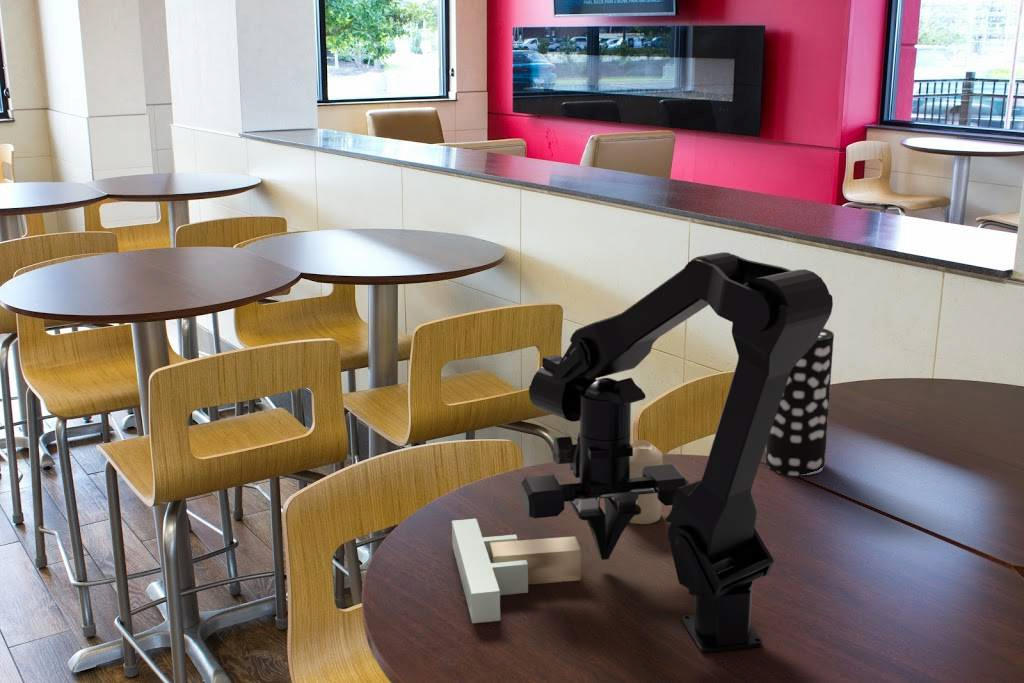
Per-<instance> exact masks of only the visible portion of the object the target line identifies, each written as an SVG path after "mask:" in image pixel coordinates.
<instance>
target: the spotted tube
mask: <svg viewBox="0 0 1024 683" xmlns="http://www.w3.org/2000/svg"><path fill="white" fill-rule="evenodd" d="M834 338H835V334H834V332H833V331H831V330H829V329H827V328H825V327H824V328H823V330H822V332H821V333H820V335H819V337H818V339H817V341H816V342H815V343H814V345H813V346H812V347H811V348H810V349H809V350H808V351H807V352H806V354H805V355H804V356H803V357H802V358H801V359H800V360H799V361H798V362H797V364H796V365H795V366H794V367H793V368H792V370H791V372H790V375H789V378H788V381H787V384H786V387H785V390H784V393H783V396H782V399H781V402H780V405H779V408H778V411H777V414H776V417H775V420H774V423H773V426H772V428H771V431H770V434H769V437H768V440H767V443H766V446H765V458H766V464H765V465H766V467H767V468H768V469H770V470H771V471H772V472H776V473H779V474H782V475H787V476H792V477H799V476H798V475H801V474H802V475H803V474H807V473H810V472H814V471H817V470H819V469H820V468H822V467H823V466H824V467H825V465H824V463H825V462H826V451H827V450H826V449H827V448H826V447H827V435H828V423H829V420H828V419H829V411H830V410H829V407H830V395H831V394H830V393H831V381H832V380H831V378H832V366H833V365H832V364H833V352H834V351H833V350H834Z"/></svg>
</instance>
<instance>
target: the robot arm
mask: <svg viewBox="0 0 1024 683" xmlns="http://www.w3.org/2000/svg"><path fill="white" fill-rule="evenodd" d="M833 299H834V298H833V296H832V294H831V293H830V292H829V289H828V286H827V284H826V283H825V282H824V280H823V278H822V277H821V276H819V275H818V274H817V273H815V272H814V271H813V270H812V271H811V270H808V269H805V268H804V269H793V270H791V269H790V268H789V269H788V268H785V267H783V266H778V265H774V264H769V263H763V262H759V261H754V260H749V259H746V258H743V257H741V256H739V255H737V254H732V253H731V252H726V251H724V252H723V251H722V252H718V253H717V252H716V253H711V254H705V255H699V256H696V257H694V258H691V260H690V261H688V263H686V265H684V268H682V269H681V270H680V271H678V272H677V273H675V274H674V275H672V276H671V277H670V278H669V279H667V280H666V281H665V282H662V283H661V284H660V285H659V286H658V287H656V288H654V289H653V290H652V291H650V292H649V293H647V294H646V295H645V296H644V297H642V298H641V299H639V300H638V301H636V302H635V303H633V304H632V305H630V307H628V308H627V309H625V310H624V311H622V312H621V313H619V314H616V315H613V316H609V317H607V318H604V319H601V320H598V321H594V322H593V323H589V324H587V325H585V326H582V327H580V328H578V329H575V331H574V332H573V333H572V335H571V337H570V339H569V342H570V345H569V346H568V348H567V349H566V351H565V352H564V355H563V356H560V355H557V354H552V355H548V356H544V357H542V358H541V360H542V361H541V362H542V364H541V365H542V366H541V367H540V368H539V369H538V370H537V371H536V373H535V374H534V375H533V378H532V380H531V383H530V385H529V387H528V396H529V400H530V402H531V403H532V405H533V407H535V408H536V409H539V410H540V411H542V412H543V411H544V412H546V413H548V414H551V415H554V416H555V417H559V418H561V419H564V420H566V421H569V422H579V432H578V434H577V441H576V442H577V443H576V442H575V443H573V440H572V436H561V437H560V436H558V437H553V455H554V456H553V458H554V463H555V464H556V465H563V464H564V465H565V464H569V470H570V471H573V472H572V474H573V476H574V478H576V479H577V478H578V479H579V482H576V483H565V484H560V483H559V481H558V479H557V478H556V475H554V474H544V475H536V476H535V475H534V476H525V477H524V478H523V480H522V481H521V482H520V486H519V497H520V501H521V502H522V504H523V507H524V509H525V511H526V514H527V516H528V517H529V518H532V519H543V518H553V517H558V516H559V515H560V514H561V513H562V512H564V510H565V502H568V503H569V505H571V508H572V510H573V511H574V512H575V514H576V516H577V517H578V518H577V519H579V520H582V521H586V522H587V523H588V526H589V530H590V532H591V535H592V538H593V541H594V544H595V547H596V549H597V553H598V555H599V557H600V559H601V561H607V560H609V559H610V557H611V555H612V553H613V552H614V550H615V548H616V545H617V544H618V542H619V539H620V538H621V536H622V534H623V532H624V531H625V529H626V528H627V526H628V525H629V524H630V523H629V522H630V520H631V519H632V518H633V516H634V515H639V514H641V508H640V506H639V505H638V504H637V499H638V495H640V494H651V493H657V498H658V500H659V501H660V502H662V504H663V505H664V506H665V507H667V506H671V510H670V512H669V514H668V516H666V517H665V522H666V523H669V524H668V525H669V526H668V530H667V539H668V542H669V546H670V551H671V554H672V558H673V563H674V567H675V571H676V576H677V581H678V583H679V585H681V586H683V587H684V588H686V589H687V590H688V594H689V595H691V596H693V597H694V602H693V603H694V606H693V614H692V613H691V614H685V615H683V616H682V618H681V621H682V623H683V625H684V626H685V628H686V630H687V631H688V632H689V635H690V636H691V637H692V639H693V640H694V642H695V644H696V645H697V647H698V649H699V650H700V651H701V652H703V653H713V652H721V651H728V650H739V649H745V648H747V649H748V648H757V647H758V648H759V647H761V646H763V639H762V638H761V636H760V635H759V633H758V632H757V631H756V629H755V628H754V627H753V625H752V624H751V617H752V616H751V615H752V599H753V598H752V597H753V581H756V580H758V579H760V578H761V577H766V576H768V575H769V574H770V572H771V569H772V567H773V565H774V562H775V561H774V560H775V559H774V558H773V556H772V555H771V553H770V551H769V549H768V547H767V546H766V545H765V543H764V541H763V539H762V538H761V536H760V534H759V533H758V531H757V529H756V521H757V515H758V513H757V512H758V511H757V508H756V504H755V501H754V499H753V495H752V487H753V485H754V482H755V479H756V476H757V472H758V470H759V466H760V464H761V461H762V458H763V455H764V452H765V450H766V443H767V440H768V437H769V434H770V431H771V428H772V426H773V423H774V420H775V417H776V414H777V411H778V408H779V405H780V402H781V399H782V396H783V393H784V390H785V387H786V384H787V381H788V378H789V375H790V372H791V370H792V368H793V367H794V366H795V365H796V364H797V362H798V361H799V360H800V359H801V358H802V357H803V356H804V355H805V354H806V352H807V351H808V350H809V349H810V348H811V347H812V346H813V345H814V343H815V342H816V341H817V339H818V337H819V335H820V333H821V332H822V330H823V328H824V329H825V326H826V324H827V322H828V321H829V319H830V316H831V314H832V312H833V311H832V310H833V306H834V304H833V302H834V301H833ZM708 306H710V308H711V309H712V310H713V311H714V313H715V314H716V316H718V317H720V318H722V319H725V320H727V321H728V322H731V323H732V325H731V335H732V339H733V342H734V345H735V349H736V352H737V356H738V357H737V363H736V366H735V369H734V373H733V376H732V379H731V382H730V386H729V389H728V393H727V396H726V399H725V401H724V405H723V409H722V412H721V415H720V418H719V421H718V425H717V428H716V431H715V435H714V438H713V441H712V444H711V448H710V451H709V454H708V458H707V461H706V465H705V466H704V467H705V468H704V471H703V474H702V477H701V479H699V480H697V481H694V482H692V483H690V482H689V480H687V478H686V477H685V476H684V474H682V473H681V472H680V470H678V468H677V467H676V466H674V464H672V463H670V464H668V463H667V464H663V465H656V466H645V467H644V469H643V470H642V477H639V478H630V456H633V447H632V446H631V445H630V444H631V429H632V428H631V427H632V426H631V425H632V424H631V423H632V422H631V420H632V419H631V418H632V417H631V416H632V403H633V404H634V403H636V402H640V401H643V400H645V399H646V397H647V396H646V394H645V392H644V391H643V390H642V388H641V387H639V386H638V385H637V384H636V383H635V381H634V380H633V378H632V377H628V378H627V377H626V378H624V379H619V380H617V379H614V378H611V377H610V378H609V377H607V376H611V375H615V374H619V373H623V372H627V371H630V370H633V369H635V368H636V367H638V366H639V365H640V364H641V362H642V361H643V360H644V359H645V358H646V357H647V356H648V355H649V354H650V353H651V351H652V347H653V345H654V343H655V342H656V341H657V340H658V339H659V338H661V337H662V336H664V335H665V334H666V333H668V332H669V331H671V330H673V329H674V328H676V327H677V326H679V325H680V324H682V323H684V322H685V321H686V320H688V319H690V318H692V316H695V314H697V313H699V312H700V311H701V310H703V309H705V308H707V307H708ZM598 378H599V379H598ZM601 499H603V501H604V510H603V509H602V507H601V505H600V502H601V501H600V500H601ZM604 511H605V512H604Z"/></svg>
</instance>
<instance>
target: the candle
mask: <svg viewBox="0 0 1024 683" xmlns="http://www.w3.org/2000/svg"><path fill="white" fill-rule="evenodd" d="M630 445H631V446H632V447H633V456H630V478H639V477H642V470H643V469H644V467H645V466H656V465H664V464H663V463H664V462H663V461H664V460H663V459H664V457H663V456H664V454H663V453H662V452H661V450H659V449H658V447H656V446H654V445H653V444H652V443H651V442H650V441H649V440H647V439H646V440H635V441H633V442H632V443H630ZM637 504H638V505H639V506H640V508H641V514H639V515H634V516H633V518H632V519H631V520H630V522H629V523H628V524H633V525H650V524H654V523H656V522H659V520H660V519H661V516H662V504H663V503H662V502H660V501H659V500H658V498H657V493H651V494H640V495H638V499H637Z"/></svg>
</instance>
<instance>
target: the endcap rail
mask: <svg viewBox="0 0 1024 683" xmlns="http://www.w3.org/2000/svg"><path fill="white" fill-rule="evenodd" d="M451 531H452V533H451V534H452V550H453V553H454V557H455V562H456V564H457V568H458V572H459V576H460V580H461V584H462V587H463V592H464V596H465V599H466V604H467V608H468V611H469V615H470V620H471V624H480V623H491V622H499V621H501V596H505V595H516V594H517V595H518V594H526V593H527V594H528V593H529V584H528V563H527V561H526V560H521V561H510V562H500V563H491V562H490V543H492V542H506V541H519V540H518V537H517V534H507V535H495V536H484V537H483V536H482V535H483V534H482V532H481V529H480V525H479V523H478V519H477V518H469V519H467V518H466V519H459V520H458V519H456V520H451Z"/></svg>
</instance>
